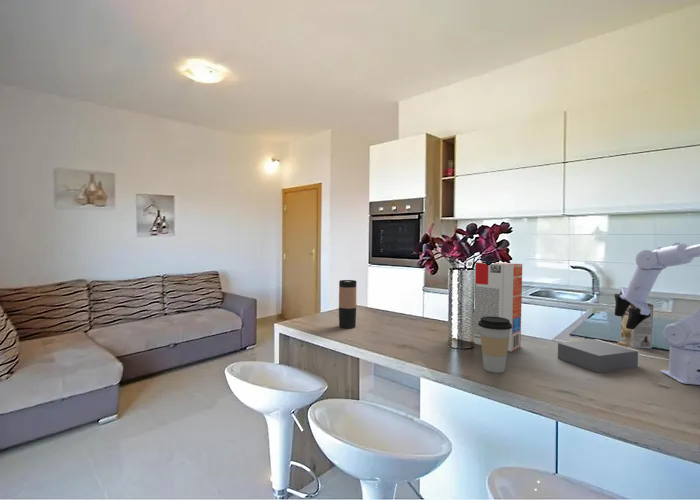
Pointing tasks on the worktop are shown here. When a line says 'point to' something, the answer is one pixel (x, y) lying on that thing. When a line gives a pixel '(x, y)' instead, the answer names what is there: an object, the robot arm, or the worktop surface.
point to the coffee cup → (494, 342)
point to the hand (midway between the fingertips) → (623, 321)
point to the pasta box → (498, 297)
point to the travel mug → (347, 304)
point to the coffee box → (637, 330)
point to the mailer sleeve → (597, 355)
